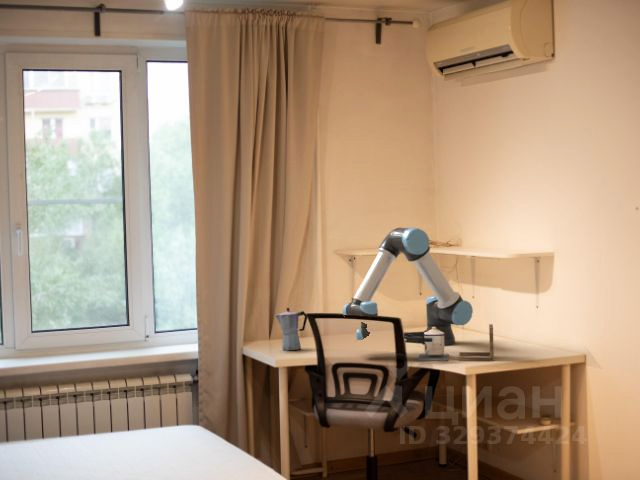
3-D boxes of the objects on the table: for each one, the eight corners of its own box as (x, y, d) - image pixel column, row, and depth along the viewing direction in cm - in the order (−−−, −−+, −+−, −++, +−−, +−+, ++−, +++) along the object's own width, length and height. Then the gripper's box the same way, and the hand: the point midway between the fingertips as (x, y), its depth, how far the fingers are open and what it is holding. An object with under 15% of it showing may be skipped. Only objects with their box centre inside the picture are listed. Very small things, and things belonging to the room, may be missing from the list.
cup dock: (459, 355, 380) (458, 324, 379) (493, 355, 377) (492, 324, 376) (458, 360, 367) (457, 328, 366) (493, 361, 364) (493, 328, 364)
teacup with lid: (426, 351, 382) (425, 325, 382) (446, 352, 379) (446, 326, 379) (421, 355, 371) (420, 329, 371) (441, 356, 368) (441, 329, 368)
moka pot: (275, 348, 414) (274, 307, 413) (307, 347, 415) (306, 306, 414) (276, 351, 404) (275, 309, 403) (309, 350, 405) (307, 308, 405)
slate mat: (419, 355, 383) (419, 354, 383) (448, 355, 381) (448, 354, 381) (417, 360, 370) (417, 359, 370) (447, 361, 367) (447, 359, 367)
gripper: (394, 341, 390) (442, 341, 386) (388, 350, 367) (439, 350, 363) (394, 325, 390) (441, 324, 386) (388, 333, 366) (439, 332, 362)
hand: (440, 337), depth 374 cm, fingers closed on teacup with lid, 12 cm apart
